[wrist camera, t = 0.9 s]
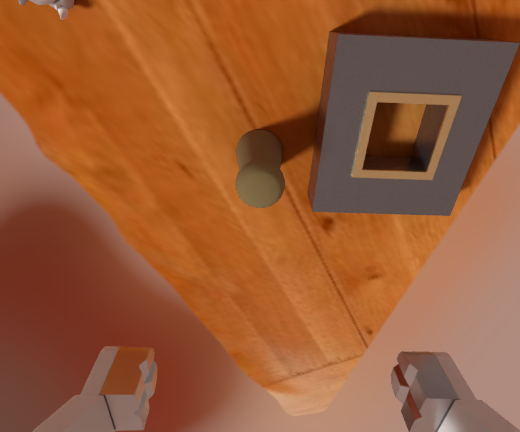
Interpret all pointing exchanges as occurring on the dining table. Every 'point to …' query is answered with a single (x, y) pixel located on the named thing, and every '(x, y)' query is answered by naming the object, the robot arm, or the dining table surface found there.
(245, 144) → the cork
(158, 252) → the dining table surface
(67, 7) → the round bodied animal figurine
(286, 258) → the dining table surface
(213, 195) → the dining table surface
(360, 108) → the block
